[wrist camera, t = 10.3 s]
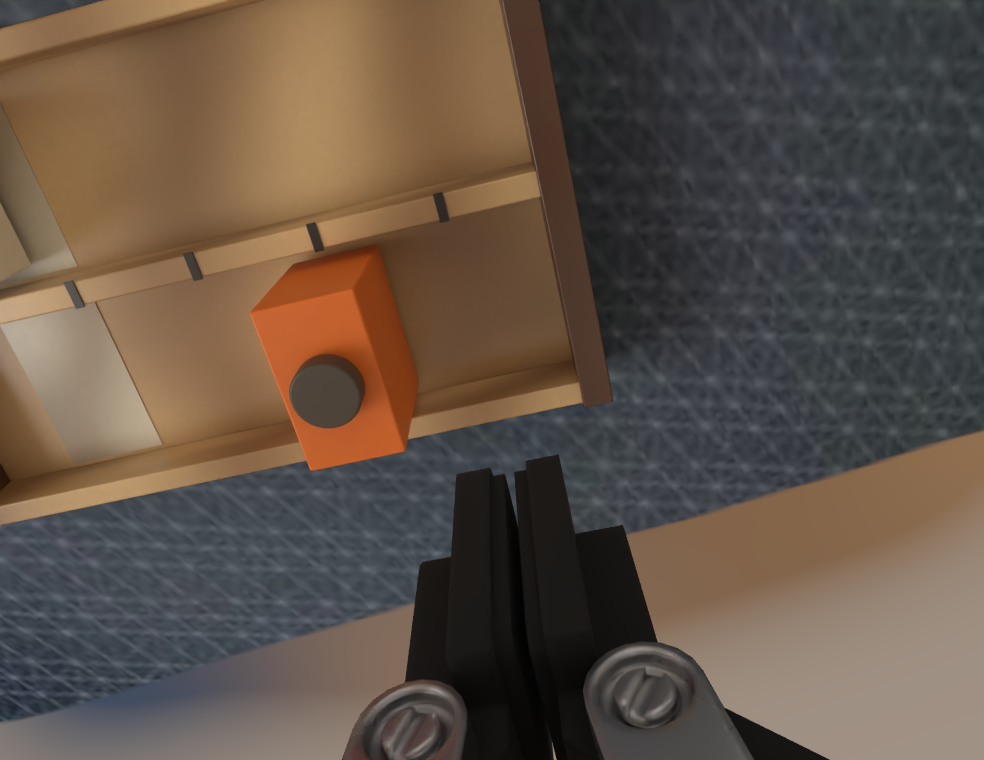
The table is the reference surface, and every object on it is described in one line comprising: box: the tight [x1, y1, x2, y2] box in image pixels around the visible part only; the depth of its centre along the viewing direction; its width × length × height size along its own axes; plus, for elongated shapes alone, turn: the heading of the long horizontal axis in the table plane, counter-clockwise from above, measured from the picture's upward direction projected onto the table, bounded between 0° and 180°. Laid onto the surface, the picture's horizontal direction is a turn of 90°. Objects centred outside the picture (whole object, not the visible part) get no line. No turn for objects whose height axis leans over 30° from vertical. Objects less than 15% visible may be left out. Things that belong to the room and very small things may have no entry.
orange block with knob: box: [250, 244, 419, 471], centre depth 23 cm, size 3×5×6 cm, turn 13°
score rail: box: [0, 0, 613, 525], centre depth 24 cm, size 24×15×3 cm, turn 103°
